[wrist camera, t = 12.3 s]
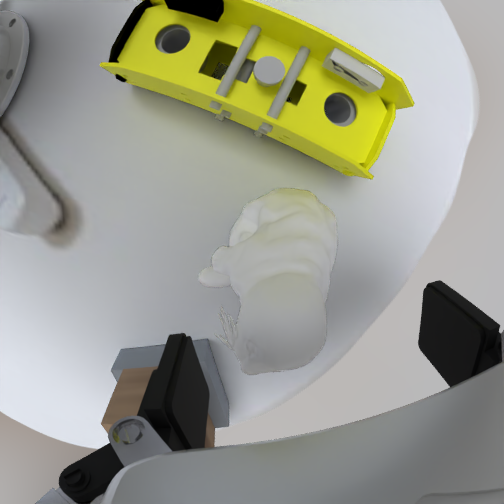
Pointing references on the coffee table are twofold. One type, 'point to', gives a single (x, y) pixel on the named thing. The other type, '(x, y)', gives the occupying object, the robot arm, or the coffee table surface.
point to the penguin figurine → (277, 280)
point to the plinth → (217, 394)
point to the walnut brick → (137, 400)
